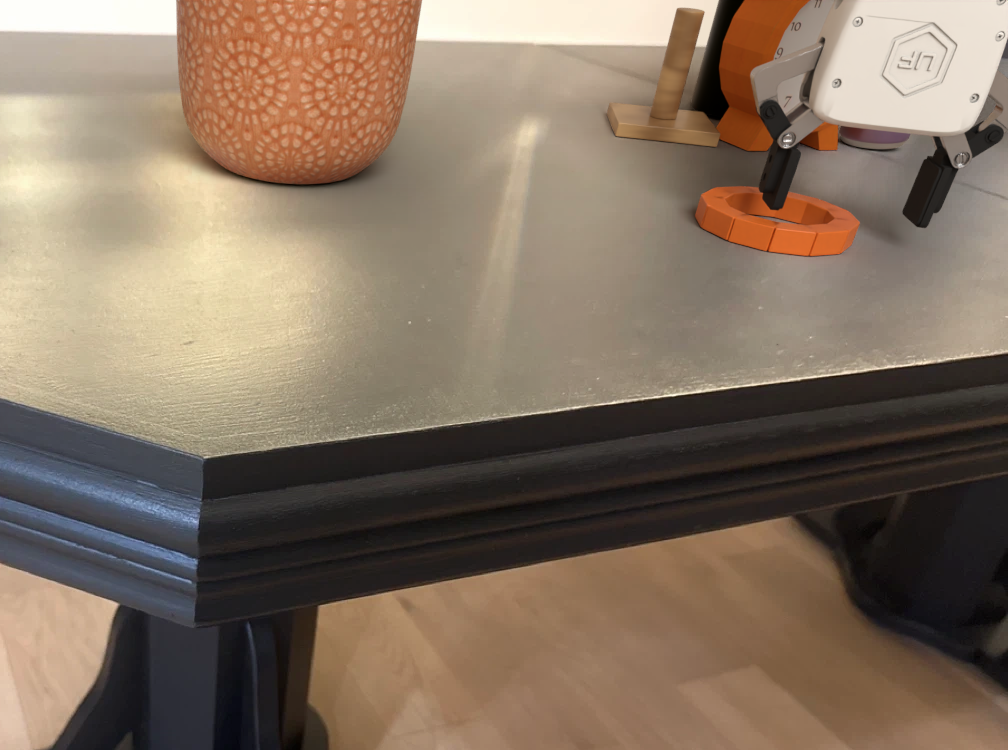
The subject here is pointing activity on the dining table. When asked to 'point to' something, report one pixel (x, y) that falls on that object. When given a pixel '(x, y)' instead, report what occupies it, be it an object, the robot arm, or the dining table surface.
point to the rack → (669, 95)
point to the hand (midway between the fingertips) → (841, 213)
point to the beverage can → (872, 138)
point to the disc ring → (816, 236)
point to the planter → (295, 83)
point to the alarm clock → (758, 40)
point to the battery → (714, 63)
